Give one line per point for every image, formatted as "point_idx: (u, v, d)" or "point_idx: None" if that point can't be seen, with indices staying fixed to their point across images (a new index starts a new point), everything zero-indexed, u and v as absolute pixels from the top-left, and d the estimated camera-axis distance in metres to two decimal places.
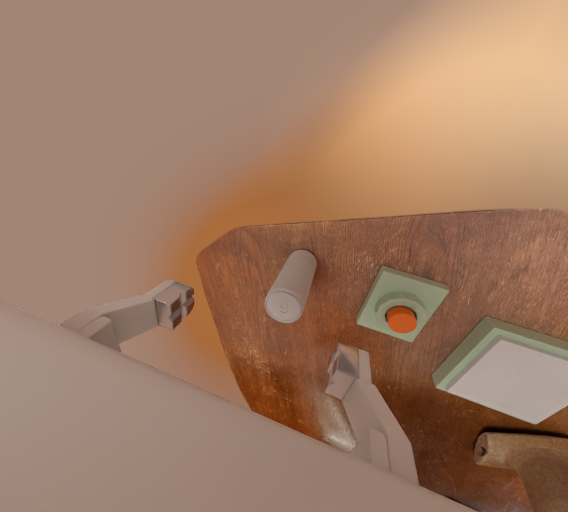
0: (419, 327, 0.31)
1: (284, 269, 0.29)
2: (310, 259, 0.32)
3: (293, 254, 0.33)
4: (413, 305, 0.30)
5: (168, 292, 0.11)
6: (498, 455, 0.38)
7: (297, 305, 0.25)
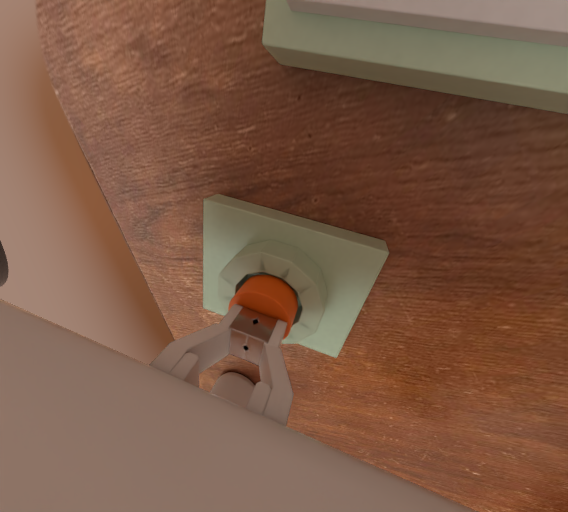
0: (288, 265, 0.11)
1: None
2: (210, 391, 0.22)
3: None
4: (228, 281, 0.13)
5: (241, 319, 0.10)
6: None
7: None
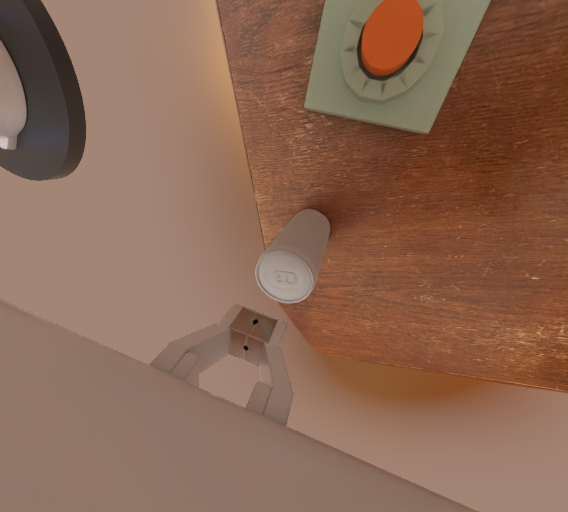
0: None
1: None
2: None
3: None
4: (355, 25, 0.15)
5: (241, 319, 0.10)
6: None
7: (274, 256, 0.15)
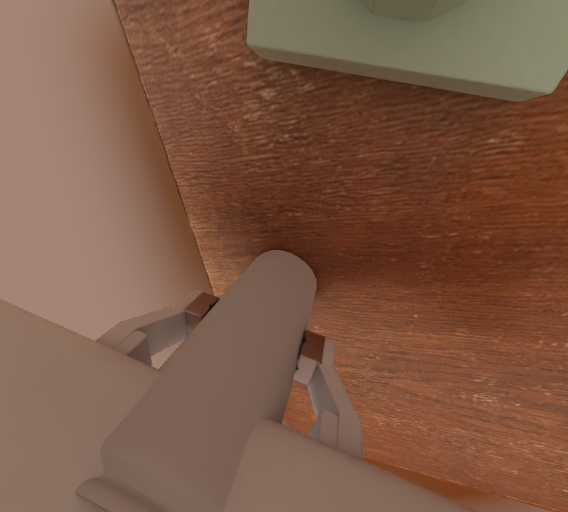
0: None
1: None
2: None
3: None
4: None
5: (197, 303, 0.10)
6: None
7: (97, 494, 0.05)
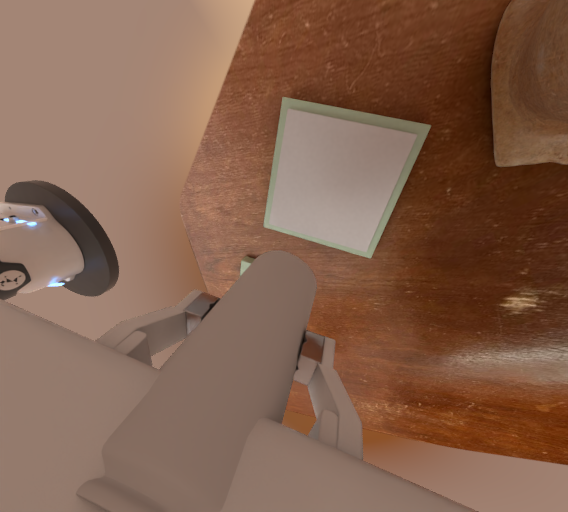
0: None
1: None
2: None
3: None
4: None
5: (197, 303, 0.10)
6: (553, 145, 0.18)
7: (97, 494, 0.05)
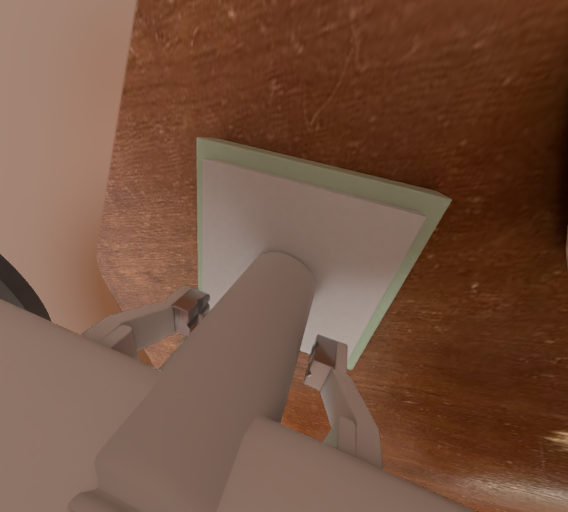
0: None
1: None
2: None
3: None
4: None
5: (185, 299, 0.11)
6: None
7: (87, 506, 0.04)
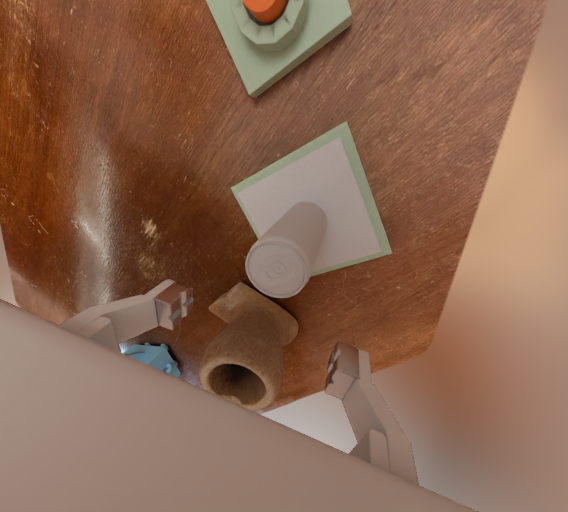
0: (275, 38, 0.19)
1: (303, 219, 0.18)
2: (324, 230, 0.23)
3: (312, 206, 0.22)
4: None
5: (168, 292, 0.11)
6: (231, 302, 0.35)
7: (297, 284, 0.15)
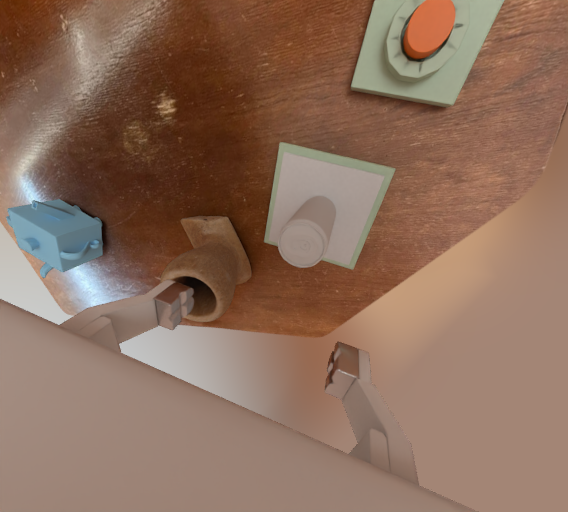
0: (403, 72, 0.21)
1: (330, 218, 0.23)
2: None
3: (333, 208, 0.27)
4: (451, 45, 0.20)
5: (168, 292, 0.11)
6: (209, 228, 0.36)
7: (307, 262, 0.21)
